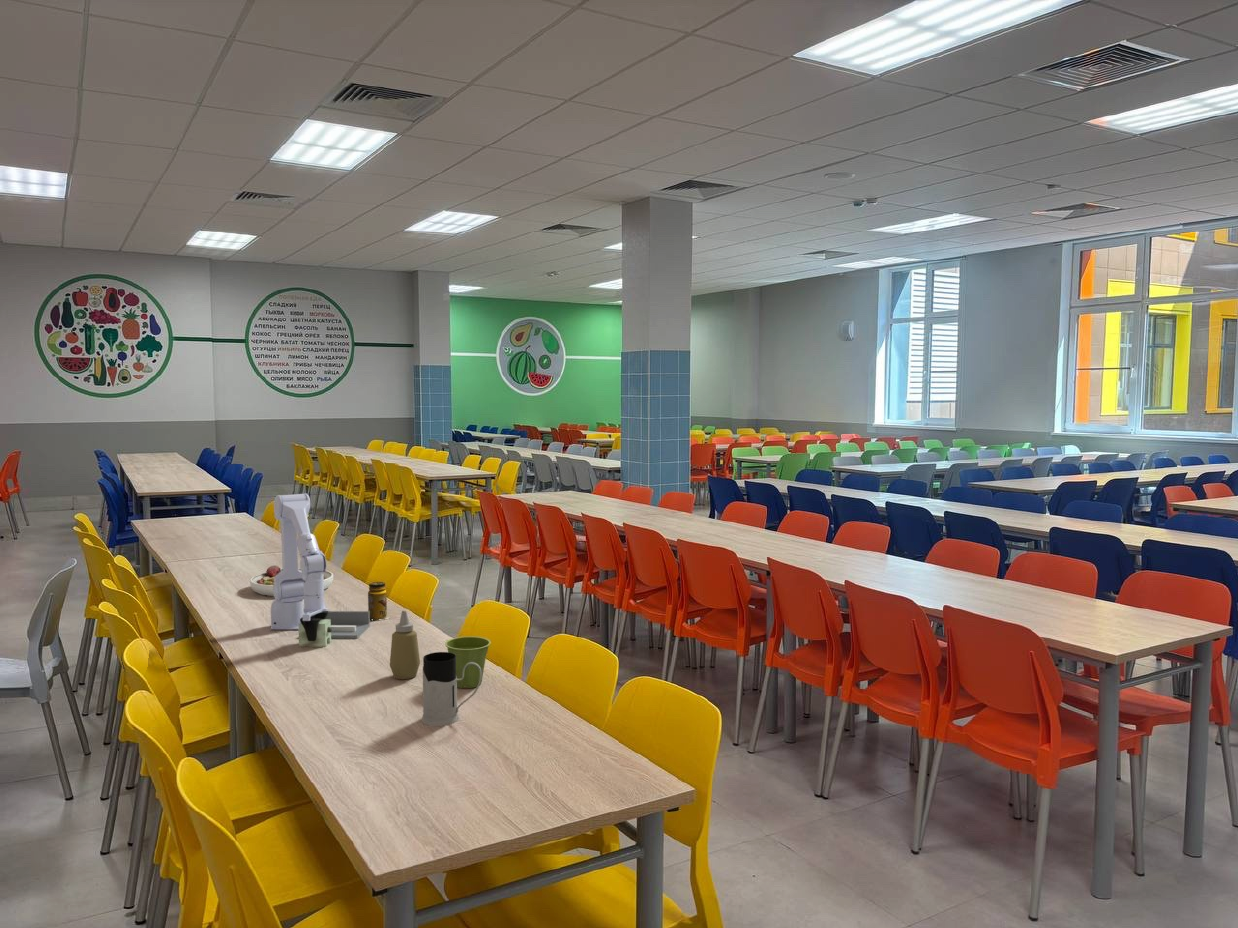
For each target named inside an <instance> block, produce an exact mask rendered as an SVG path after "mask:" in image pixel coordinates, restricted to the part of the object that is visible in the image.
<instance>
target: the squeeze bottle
mask: <svg viewBox="0 0 1238 928" xmlns="http://www.w3.org/2000/svg"><path fill="white" fill-rule="evenodd" d="M420 660H421V658H420V651H419V641H418V632H416V631H415V630H414V623H412V622H410V621H409V617H408V611H407V610H406V609H405V610H402V611H401V613H400V619H399V622H398V623H395V631H394V632H393V633H392V635H391V646H390V657H389V667H390V670H391V672H392V674H393V678H395V679H397V680H408V679H410V680H411V679H413V678H415V677H416V676H417V675H418V671H419V668H420V665H421V661H420Z"/></svg>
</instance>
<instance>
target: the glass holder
mask: <svg viewBox="0 0 1238 928" xmlns="http://www.w3.org/2000/svg"><path fill="white" fill-rule="evenodd" d="M422 658H423V661H422V662H423V663H422V664H423V665H422V710H423V711H422V712H423V714H422V717H421V719H420V722H421V723H423V724H424V725H427V726H430V727H443V726H449V725H452V724H453V725H454V724H455V723H457V722H458V721H459V720H458V719H460V715H459V714H458V712H459V708H460V707H461V706H462V705H464V704H465V703H466V702H467V701H469V700H470V699H471V698H472V697H473V696H474V695H475V694H477V691H478V689H479V687H480V682H481V675H482V672H481V668H480V666H479V665H478V664H477V663H474V662H470V663H467V664H466V665H465V666H464V668H463V671H462V678H461V679H457V676H456V655H455V654H453V653H449V652H448V651H438V652H431V653H427V654H425V655H424V656H423V657H422ZM469 664H474V665H476V666H477V667H478V668H479V671H480V679H479V683H478V686H477V687H475V690H474V691H473V692H472V693H471V694H470V695H469V696H468V697H467V698H465V699H464V700H462V702H461V703H460V704H459V705H458V687H457V681H460V680H462V679H463V678H464V670H465V668H466V666H468V665H469ZM481 683H482V682H481Z"/></svg>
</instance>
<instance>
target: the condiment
mask: <svg viewBox="0 0 1238 928" xmlns="http://www.w3.org/2000/svg"><path fill="white" fill-rule="evenodd" d="M368 589H369V590H368V591H367V602H368V603H367V605H368V607H367V609H368V610H367V611H370V619H373V620H376V621H380V620H379V619H385V620H389V619H391V617H390V616H388V615H387V614H388V612H387V611H388V609H387V608H388V606H387V605H388V604H387V601H388V600H387V599H388V598H387V590H386V583H385V582H383V581H373V582H370V583H368ZM373 620H372V621H371V622H374V621H373Z"/></svg>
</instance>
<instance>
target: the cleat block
mask: <svg viewBox="0 0 1238 928" xmlns="http://www.w3.org/2000/svg"><path fill="white" fill-rule="evenodd" d="M298 629H299V630H298V647H299V648H302V647H305V648H307V647H308V648H312V647H313V648H314V647H316V648H318V647H319V648H321V647H322V648H323V647H324V648H326V647H327V646H328V644H330V643H331V642H332V638H331V632H332V627H331V619H320V621H319V624H318V628H317V636H316V640H315V641H308V639H307V636H306V632H305V629H304V627H303V625H302V624H301V622H300V623H299V624H298Z"/></svg>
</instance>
